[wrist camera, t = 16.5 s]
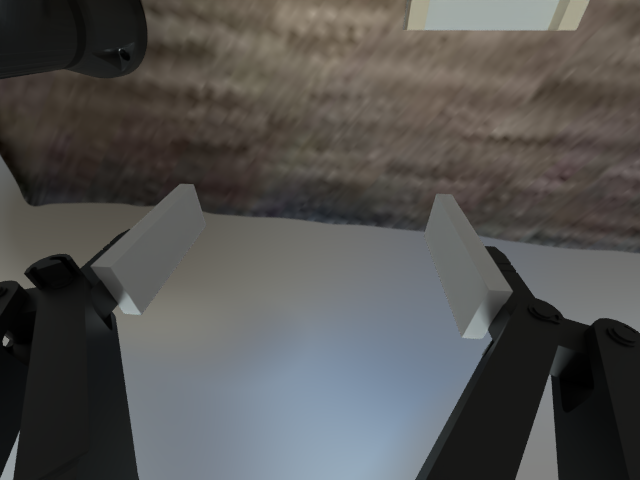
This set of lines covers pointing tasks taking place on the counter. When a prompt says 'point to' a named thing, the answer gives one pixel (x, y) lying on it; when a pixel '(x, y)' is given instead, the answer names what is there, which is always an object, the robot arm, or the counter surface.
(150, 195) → the counter surface
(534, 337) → the robot arm
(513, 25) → the rail tray
